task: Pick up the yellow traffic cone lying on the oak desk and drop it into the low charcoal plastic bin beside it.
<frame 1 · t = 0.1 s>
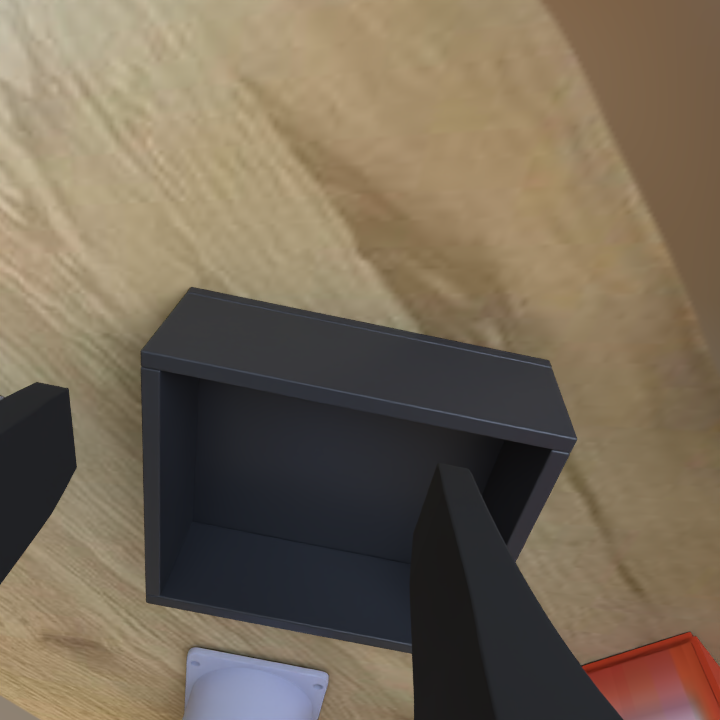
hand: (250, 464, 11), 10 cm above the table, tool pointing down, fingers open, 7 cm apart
bin: (343, 449, 24), on the table
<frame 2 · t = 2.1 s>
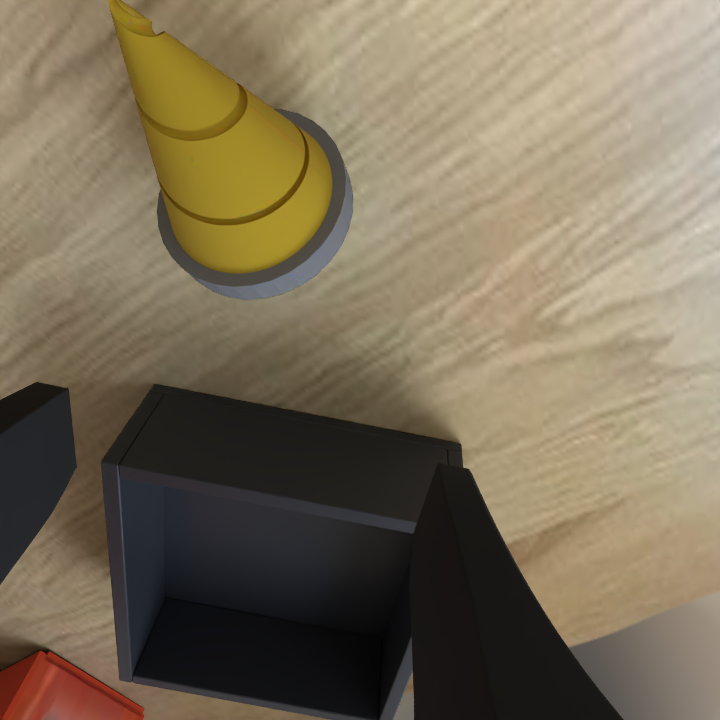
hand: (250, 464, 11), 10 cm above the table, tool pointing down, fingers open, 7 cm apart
bin: (289, 527, 26), on the table
file binder: (20, 714, 38), on the table
yellow traffic cone: (252, 150, 18), on the table
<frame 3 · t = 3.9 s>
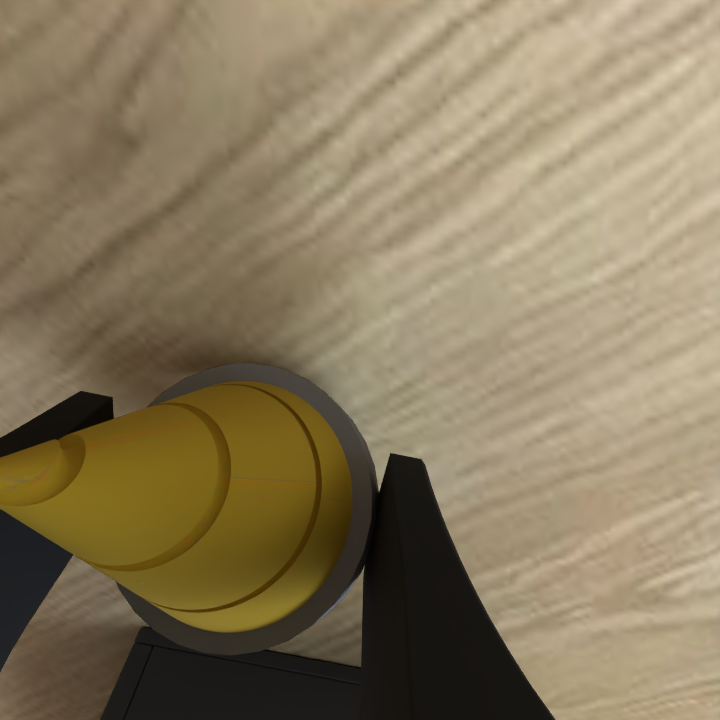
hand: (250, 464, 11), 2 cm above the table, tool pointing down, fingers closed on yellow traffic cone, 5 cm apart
yellow traffic cone: (240, 391, 13), on the table, touching gripper
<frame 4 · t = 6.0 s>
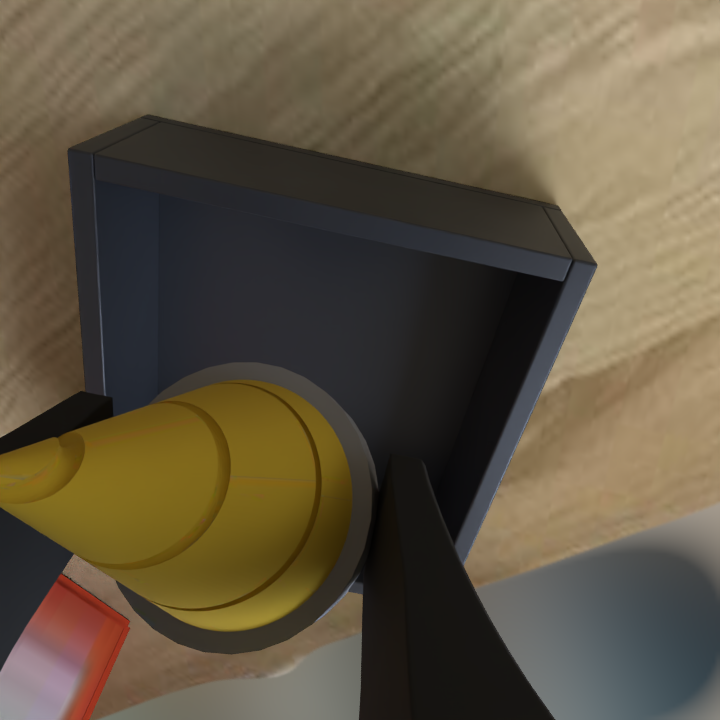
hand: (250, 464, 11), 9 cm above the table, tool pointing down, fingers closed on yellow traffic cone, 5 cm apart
bin: (319, 350, 20), on the table
yellow traffic cone: (239, 390, 13), point 7 cm above the table, touching gripper
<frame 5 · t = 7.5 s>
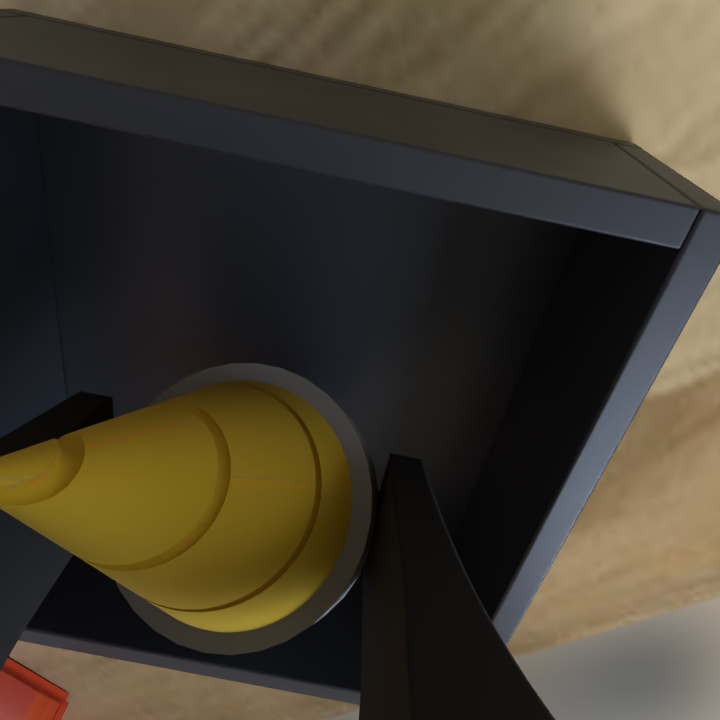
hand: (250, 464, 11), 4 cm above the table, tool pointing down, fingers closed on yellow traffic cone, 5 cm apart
bin: (287, 362, 15), on the table
yellow traffic cone: (239, 390, 13), point 2 cm above the table, touching gripper
when the fingers open (2 cm above the table, at t = 8.5 s): yellow traffic cone stays where it is, resting on bin.
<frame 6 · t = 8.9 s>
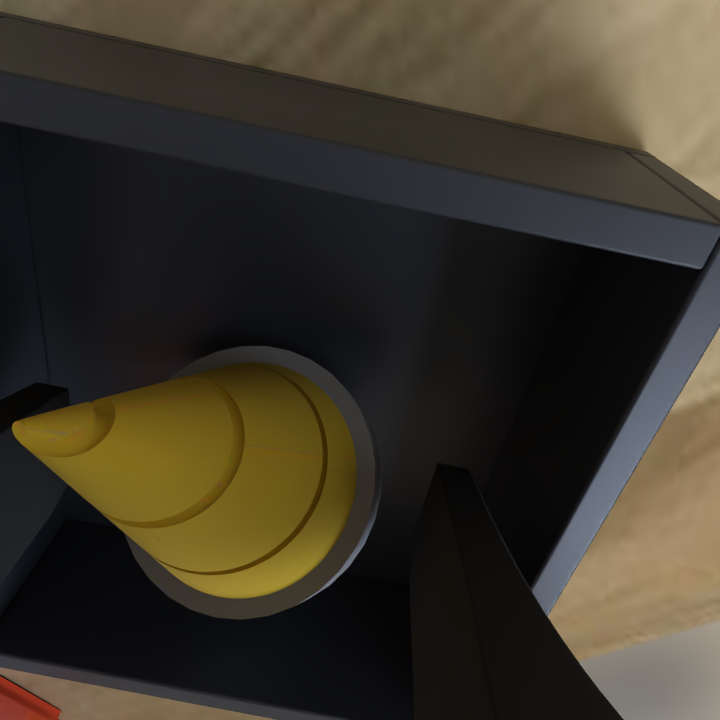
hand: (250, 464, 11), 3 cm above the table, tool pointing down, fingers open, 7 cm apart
bin: (282, 377, 14), on the table
yellow traffic cone: (248, 374, 14), resting on bin
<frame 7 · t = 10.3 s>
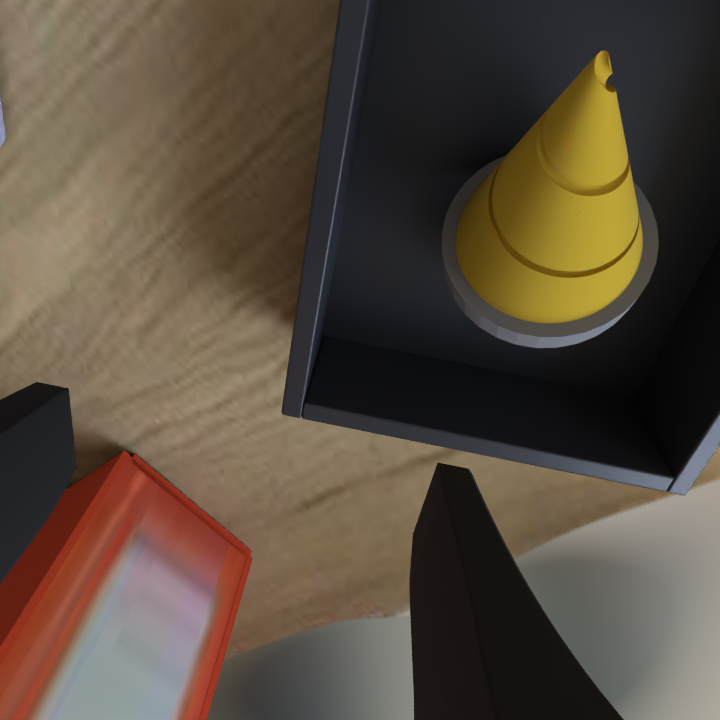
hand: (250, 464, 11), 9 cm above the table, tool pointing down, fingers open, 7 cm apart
bin: (536, 192, 17), on the table
file binder: (80, 569, 29), on the table
yellow traffic cone: (513, 186, 17), resting on bin
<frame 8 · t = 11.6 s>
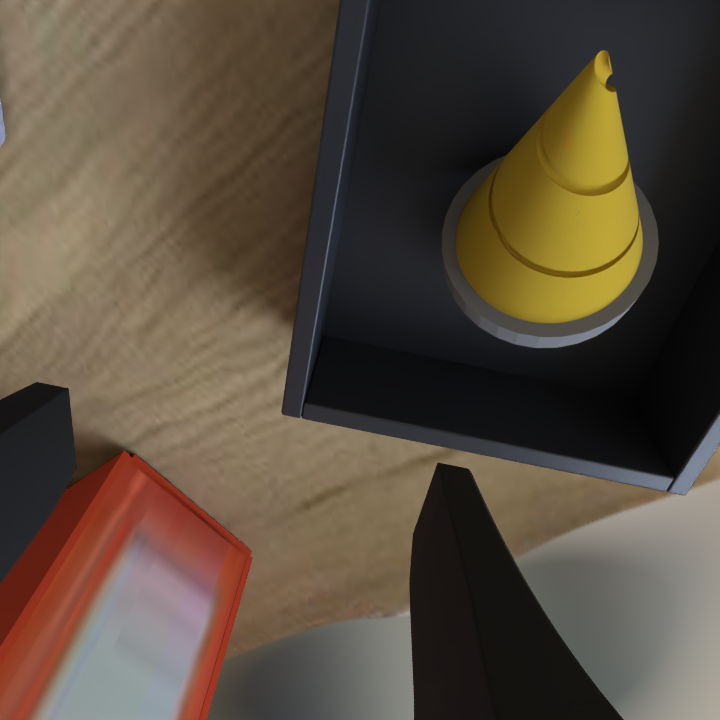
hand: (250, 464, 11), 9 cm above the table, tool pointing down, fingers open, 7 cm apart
bin: (536, 192, 17), on the table
file binder: (80, 569, 29), on the table
yellow traffic cone: (513, 186, 17), resting on bin
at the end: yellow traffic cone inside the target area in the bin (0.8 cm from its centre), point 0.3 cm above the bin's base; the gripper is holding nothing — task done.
